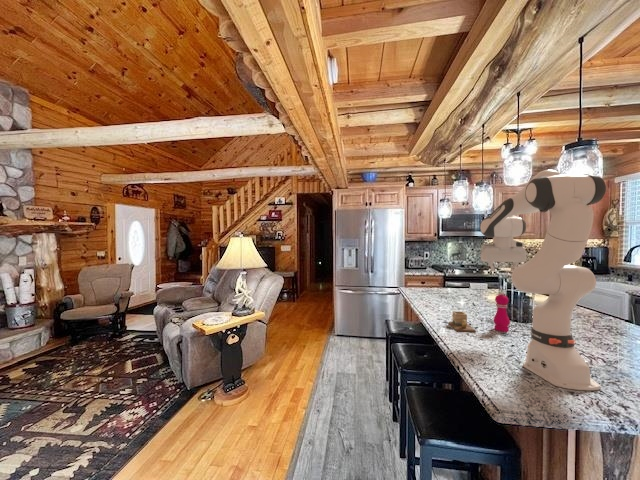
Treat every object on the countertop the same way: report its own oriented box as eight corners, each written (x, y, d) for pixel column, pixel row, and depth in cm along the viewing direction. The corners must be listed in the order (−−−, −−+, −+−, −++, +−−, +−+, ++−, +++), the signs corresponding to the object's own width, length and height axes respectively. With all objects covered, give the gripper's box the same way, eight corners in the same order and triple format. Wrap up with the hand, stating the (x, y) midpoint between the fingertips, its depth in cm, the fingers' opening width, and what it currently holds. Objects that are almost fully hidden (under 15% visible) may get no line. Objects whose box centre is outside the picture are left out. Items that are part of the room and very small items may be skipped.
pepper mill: (505, 327, 154) (505, 290, 153) (512, 332, 146) (513, 293, 146) (490, 327, 154) (491, 290, 154) (497, 331, 147) (498, 293, 147)
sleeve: (466, 325, 154) (466, 314, 154) (455, 325, 155) (455, 314, 155) (463, 322, 160) (463, 311, 160) (452, 321, 161) (452, 311, 161)
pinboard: (475, 332, 146) (475, 322, 146) (457, 331, 148) (457, 322, 148) (465, 323, 160) (465, 315, 160) (448, 323, 162) (448, 314, 162)
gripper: (483, 243, 143) (483, 271, 143) (528, 243, 140) (528, 271, 140) (478, 243, 149) (478, 269, 149) (521, 243, 146) (520, 270, 146)
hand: (503, 270), depth 145 cm, fingers open, 8 cm apart
